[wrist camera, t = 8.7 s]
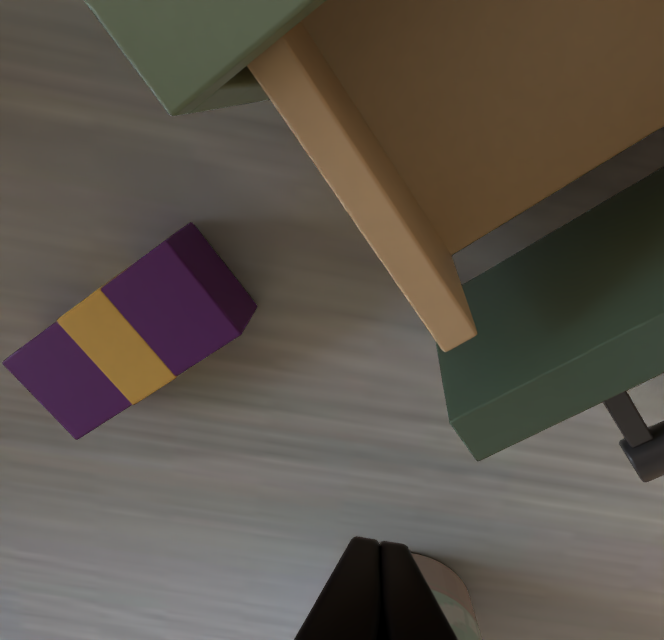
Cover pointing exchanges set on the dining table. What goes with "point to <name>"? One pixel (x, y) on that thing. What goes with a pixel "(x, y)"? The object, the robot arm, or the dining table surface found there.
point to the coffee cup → (450, 597)
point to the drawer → (497, 191)
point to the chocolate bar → (134, 333)
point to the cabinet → (199, 45)
